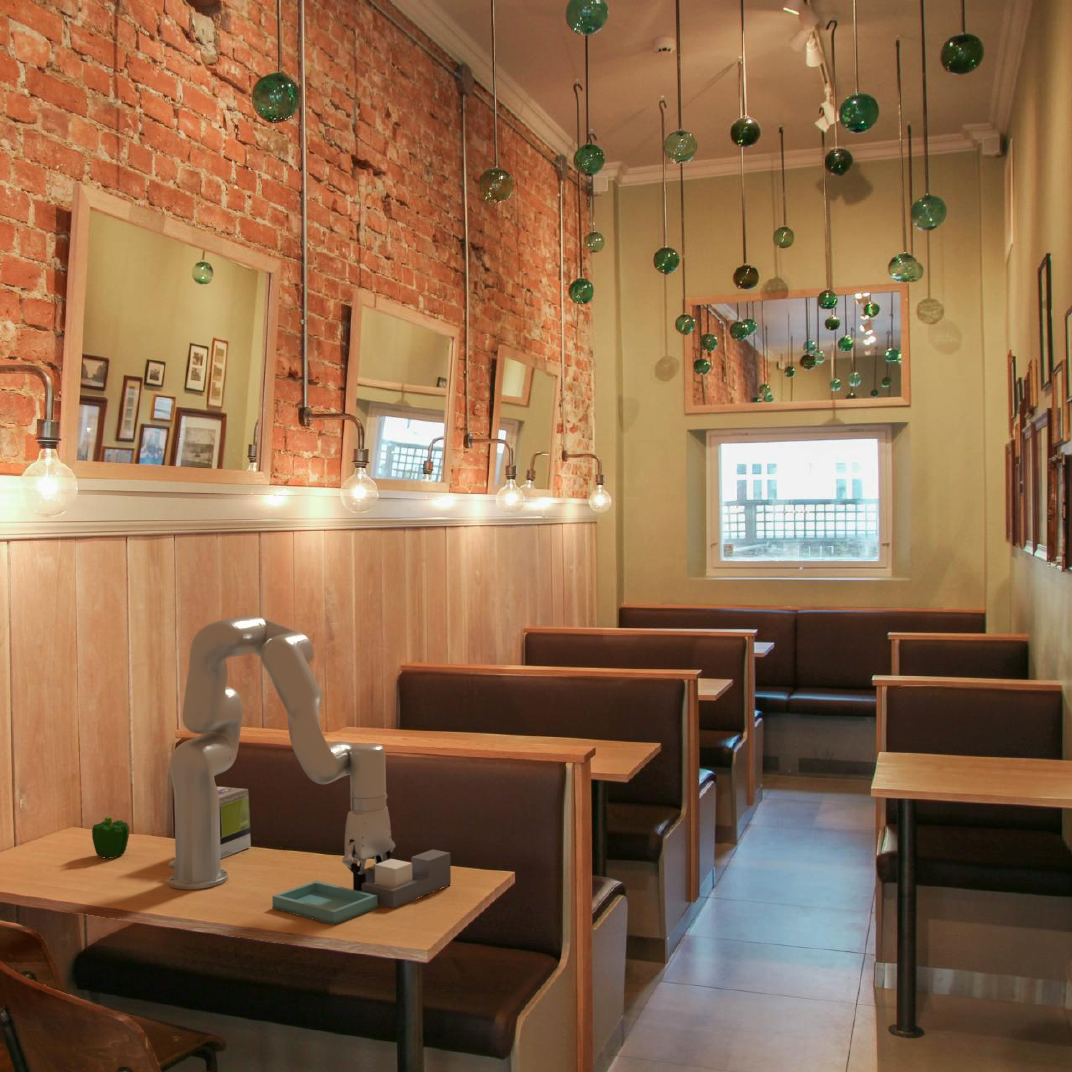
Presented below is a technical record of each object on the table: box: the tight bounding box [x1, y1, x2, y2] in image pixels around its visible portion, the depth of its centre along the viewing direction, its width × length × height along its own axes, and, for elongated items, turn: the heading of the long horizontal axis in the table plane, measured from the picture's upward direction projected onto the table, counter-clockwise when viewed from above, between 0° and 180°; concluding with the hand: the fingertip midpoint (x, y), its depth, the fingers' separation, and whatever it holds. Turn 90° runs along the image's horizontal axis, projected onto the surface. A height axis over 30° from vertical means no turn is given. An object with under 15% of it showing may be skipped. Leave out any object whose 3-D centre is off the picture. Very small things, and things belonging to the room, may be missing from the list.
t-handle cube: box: [363, 858, 412, 888], centre depth 235 cm, size 10×5×7 cm, turn 54°
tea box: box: [216, 786, 252, 860], centre depth 268 cm, size 15×10×15 cm
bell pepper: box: [91, 815, 130, 859], centre depth 268 cm, size 8×8×10 cm
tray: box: [271, 880, 379, 926], centre depth 227 cm, size 18×12×2 cm, turn 54°
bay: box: [361, 849, 452, 909], centre depth 236 cm, size 9×18×7 cm, turn 144°
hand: (369, 886), depth 238 cm, fingers open, 5 cm apart
